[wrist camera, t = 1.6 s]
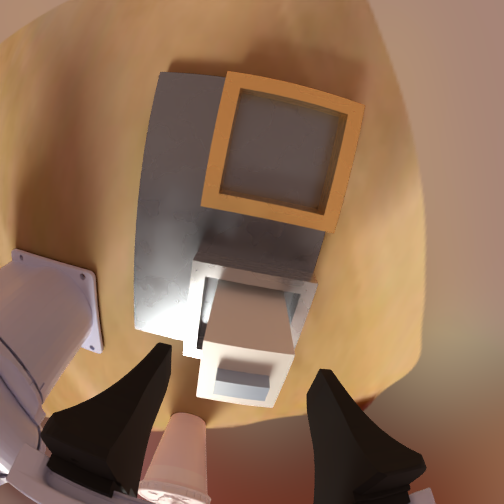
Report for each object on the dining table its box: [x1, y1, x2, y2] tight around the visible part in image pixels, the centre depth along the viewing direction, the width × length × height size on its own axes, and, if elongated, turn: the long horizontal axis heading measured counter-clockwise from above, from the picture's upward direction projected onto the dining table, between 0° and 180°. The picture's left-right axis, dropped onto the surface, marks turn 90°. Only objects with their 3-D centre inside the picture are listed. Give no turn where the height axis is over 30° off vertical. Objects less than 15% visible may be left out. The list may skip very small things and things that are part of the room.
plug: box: [196, 279, 295, 408], centre depth 14 cm, size 4×4×7 cm
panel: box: [134, 71, 365, 359], centre depth 16 cm, size 11×17×2 cm, turn 169°
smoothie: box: [138, 413, 211, 504], centre depth 18 cm, size 6×6×14 cm
